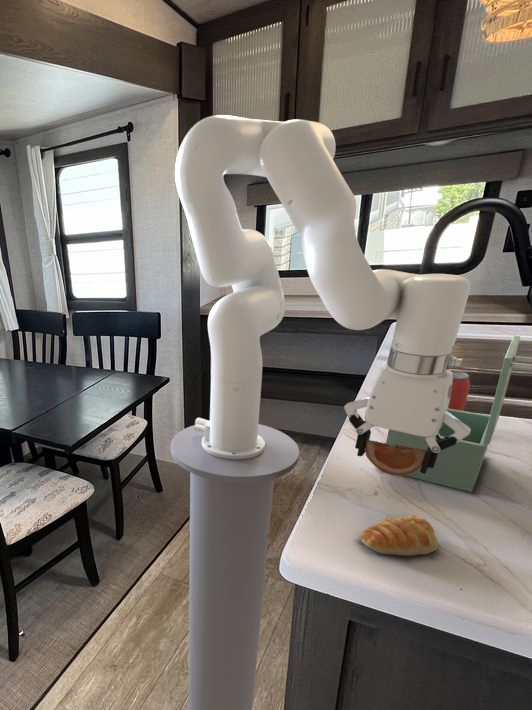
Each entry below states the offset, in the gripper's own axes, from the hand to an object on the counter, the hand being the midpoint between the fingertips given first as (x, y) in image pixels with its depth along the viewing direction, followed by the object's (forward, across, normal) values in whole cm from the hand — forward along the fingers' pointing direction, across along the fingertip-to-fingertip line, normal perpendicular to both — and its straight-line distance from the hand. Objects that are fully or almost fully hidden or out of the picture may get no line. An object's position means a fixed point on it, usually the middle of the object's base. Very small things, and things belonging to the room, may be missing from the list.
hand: (392, 461), depth 77 cm
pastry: (+7, -5, +12) cm, 15 cm away
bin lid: (-10, -10, -17) cm, 22 cm away
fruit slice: (+2, 0, 0) cm, 2 cm away
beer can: (+7, -2, -36) cm, 37 cm away
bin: (+7, -4, -17) cm, 19 cm away
